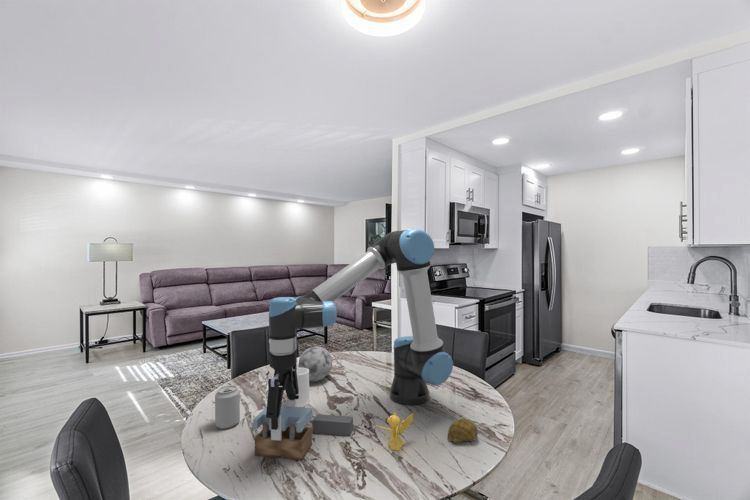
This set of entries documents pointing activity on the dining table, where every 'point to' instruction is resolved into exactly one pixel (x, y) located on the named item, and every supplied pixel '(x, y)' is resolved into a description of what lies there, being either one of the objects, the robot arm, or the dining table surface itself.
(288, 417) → the door
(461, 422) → the seashell
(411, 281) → the robot arm
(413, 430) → the dining table surface
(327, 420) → the gray rectangular block
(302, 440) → the carcass
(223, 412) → the can
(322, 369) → the stone
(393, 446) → the figurine
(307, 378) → the mug
